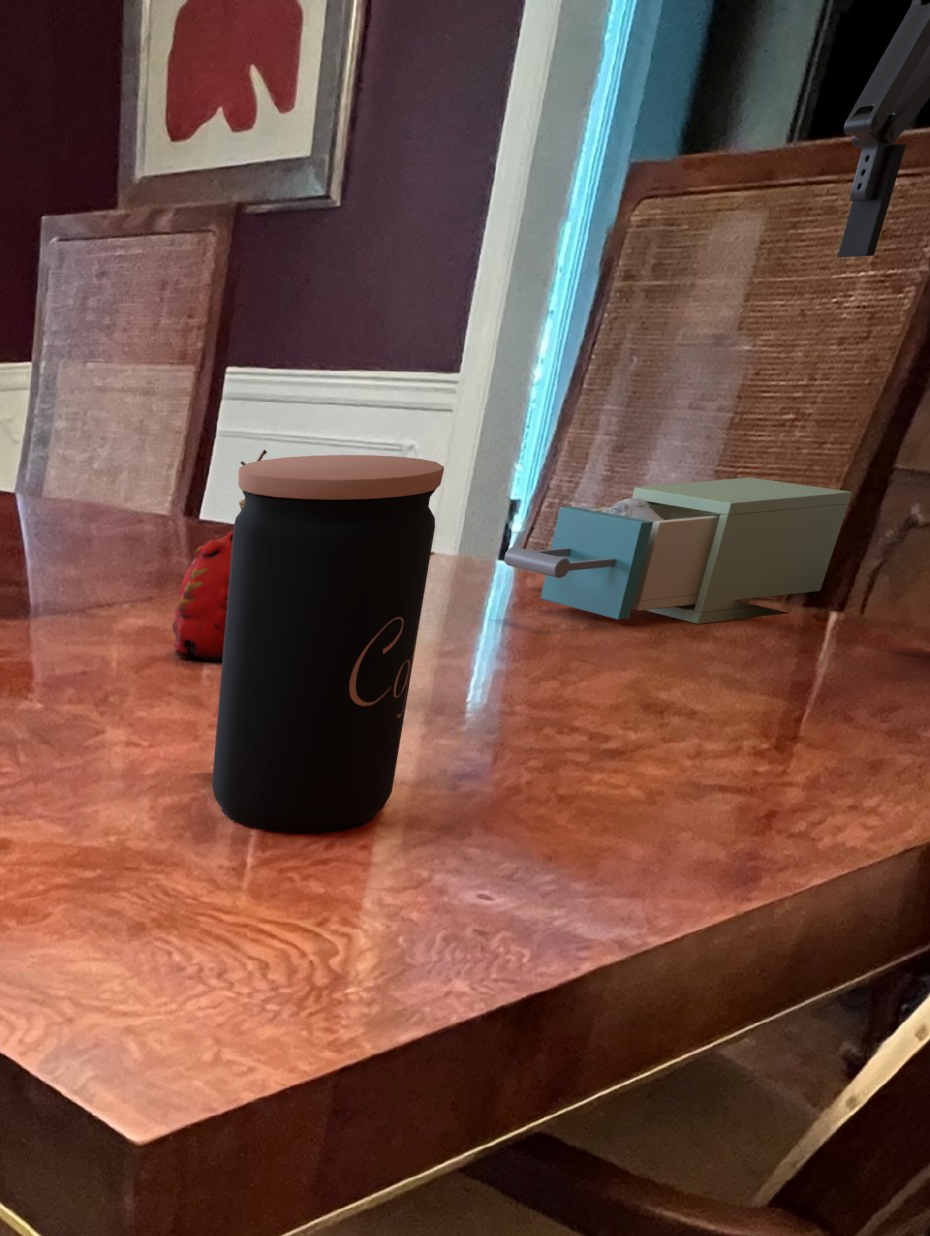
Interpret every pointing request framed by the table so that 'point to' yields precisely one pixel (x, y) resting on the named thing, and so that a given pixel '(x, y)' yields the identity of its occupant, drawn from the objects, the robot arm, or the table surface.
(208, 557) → the red clay folk toy
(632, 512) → the frog figurine
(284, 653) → the coffee jar
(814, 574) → the cabinet
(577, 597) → the drawer
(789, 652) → the table surface
